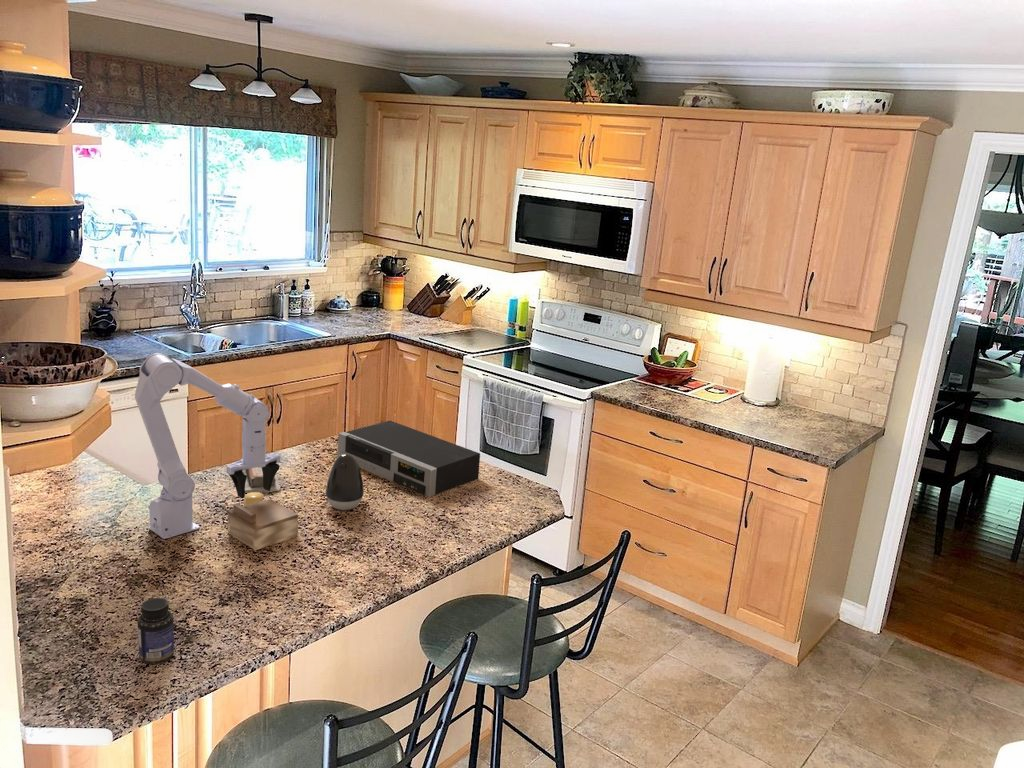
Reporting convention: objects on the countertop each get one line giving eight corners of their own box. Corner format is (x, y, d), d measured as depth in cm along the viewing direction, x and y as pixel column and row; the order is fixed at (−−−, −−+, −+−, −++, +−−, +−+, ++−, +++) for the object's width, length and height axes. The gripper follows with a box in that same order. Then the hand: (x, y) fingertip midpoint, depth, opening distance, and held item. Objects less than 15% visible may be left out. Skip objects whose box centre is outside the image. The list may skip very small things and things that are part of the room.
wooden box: (255, 550, 200) (255, 531, 198) (228, 532, 207) (228, 514, 206) (297, 536, 209) (297, 517, 207) (270, 519, 216) (270, 502, 215)
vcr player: (478, 480, 255) (480, 453, 253) (421, 501, 236) (423, 472, 234) (388, 444, 279) (389, 419, 276) (329, 461, 260) (330, 435, 257)
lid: (255, 530, 198) (255, 518, 198) (228, 514, 206) (228, 502, 205) (298, 517, 207) (298, 505, 206) (270, 501, 215) (270, 490, 214)
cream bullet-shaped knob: (250, 519, 216) (250, 501, 214) (240, 512, 219) (240, 495, 217) (267, 514, 219) (267, 496, 218) (256, 508, 222) (256, 490, 221)
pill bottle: (181, 651, 159) (180, 600, 156) (158, 669, 153) (156, 616, 150) (155, 643, 161) (153, 592, 158) (131, 660, 155) (129, 607, 152)
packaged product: (238, 456, 245) (273, 454, 249) (238, 471, 246) (273, 469, 250) (243, 479, 229) (280, 477, 233) (243, 495, 230) (280, 493, 234)
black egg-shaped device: (321, 513, 223) (323, 460, 218) (328, 497, 233) (330, 446, 228) (360, 515, 223) (362, 462, 219) (365, 500, 233) (367, 449, 229)
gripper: (237, 454, 206) (237, 505, 210) (287, 442, 217) (286, 491, 220) (221, 446, 210) (222, 496, 214) (271, 435, 221) (271, 482, 225)
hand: (254, 493), depth 217 cm, fingers open, 7 cm apart
